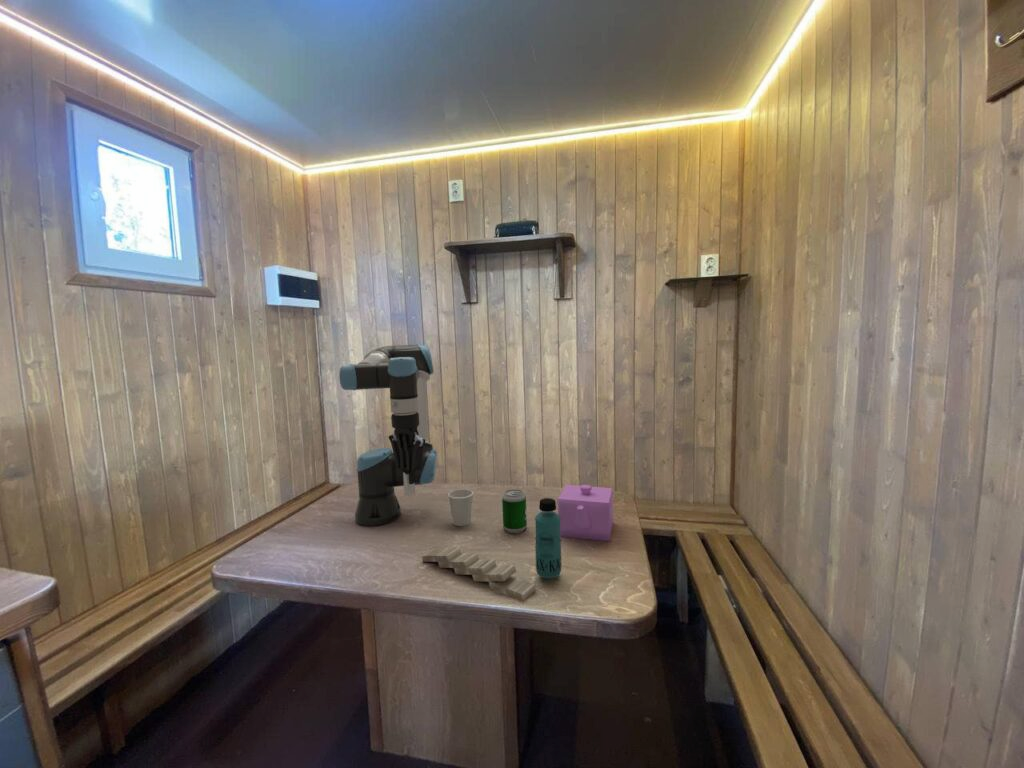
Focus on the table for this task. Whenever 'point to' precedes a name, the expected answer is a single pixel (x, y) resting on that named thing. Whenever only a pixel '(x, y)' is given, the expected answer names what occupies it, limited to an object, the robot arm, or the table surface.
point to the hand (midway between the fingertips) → (409, 493)
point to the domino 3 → (477, 567)
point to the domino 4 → (496, 573)
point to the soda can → (514, 511)
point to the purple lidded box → (586, 512)
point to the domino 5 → (514, 587)
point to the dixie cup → (461, 506)
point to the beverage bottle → (548, 540)
